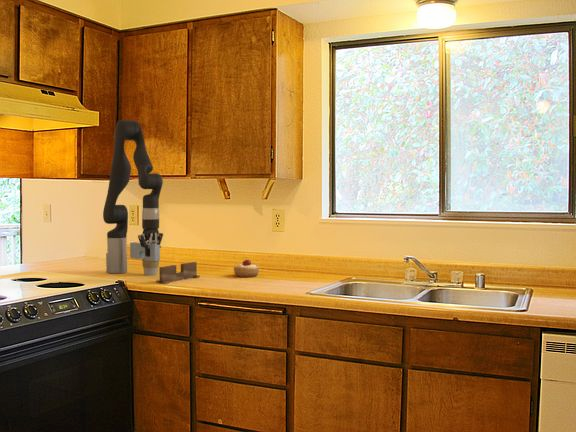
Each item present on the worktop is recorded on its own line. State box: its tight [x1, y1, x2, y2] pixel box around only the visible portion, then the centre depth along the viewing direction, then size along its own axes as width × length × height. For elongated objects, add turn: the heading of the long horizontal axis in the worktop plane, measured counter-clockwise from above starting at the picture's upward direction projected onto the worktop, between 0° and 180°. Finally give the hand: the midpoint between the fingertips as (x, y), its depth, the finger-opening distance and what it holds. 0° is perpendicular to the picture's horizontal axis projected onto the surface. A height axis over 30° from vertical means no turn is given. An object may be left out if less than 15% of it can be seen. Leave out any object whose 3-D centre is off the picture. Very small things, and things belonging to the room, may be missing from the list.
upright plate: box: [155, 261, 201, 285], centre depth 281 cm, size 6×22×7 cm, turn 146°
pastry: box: [233, 257, 260, 278], centre depth 293 cm, size 12×12×9 cm
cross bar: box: [129, 241, 161, 261], centre depth 283 cm, size 16×3×7 cm, turn 56°
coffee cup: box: [141, 243, 162, 277], centre depth 298 cm, size 10×10×15 cm
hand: (150, 255), depth 280 cm, fingers closed on cross bar, 3 cm apart
